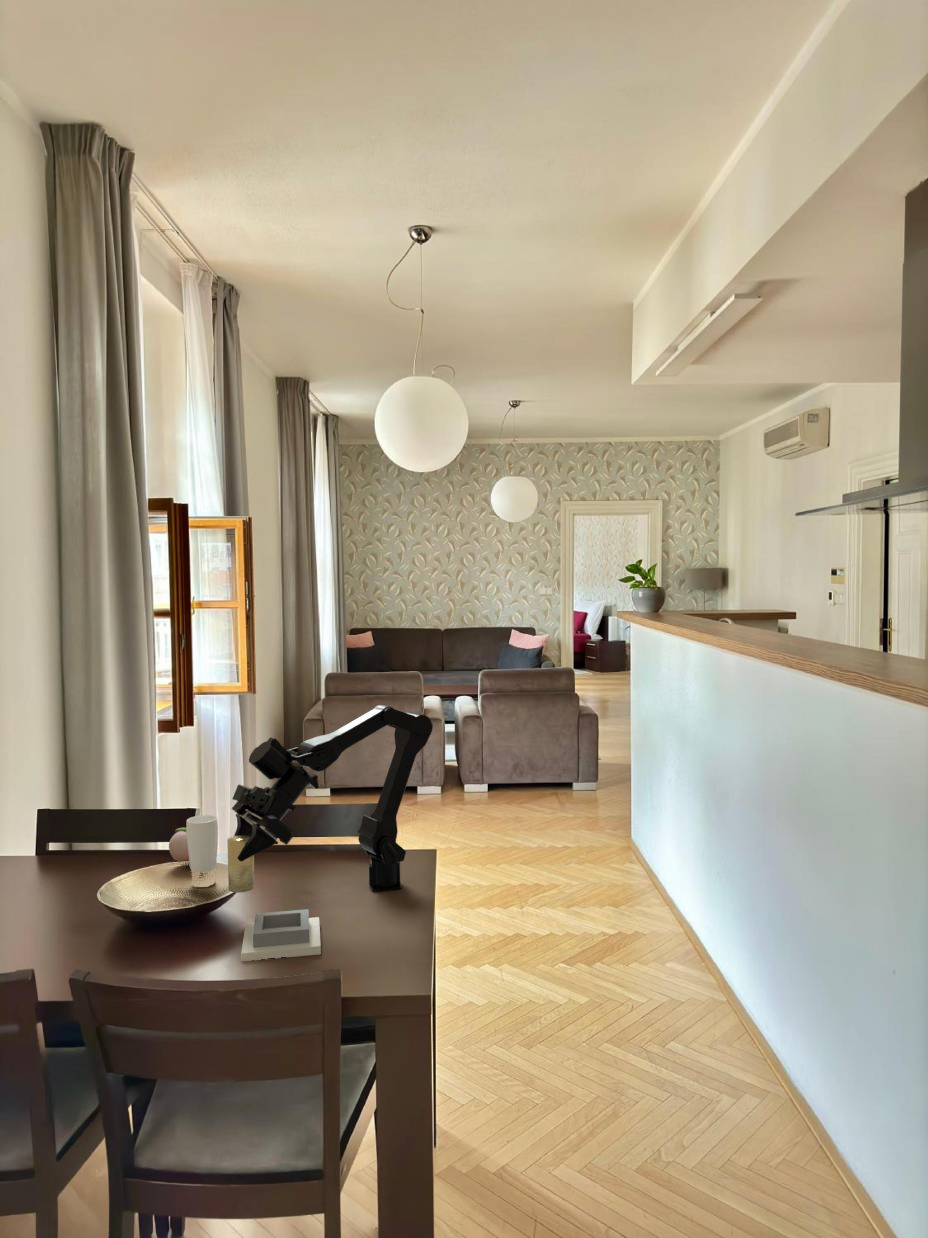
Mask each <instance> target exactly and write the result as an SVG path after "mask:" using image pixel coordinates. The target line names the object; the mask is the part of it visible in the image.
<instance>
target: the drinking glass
mask: <svg viewBox="0 0 928 1238" xmlns="http://www.w3.org/2000/svg"><path fill="white" fill-rule="evenodd" d="M185 828H186V834H187V846H188V854H189V862H190V866H189V869H191V870H193V871H195V872H204V871H211V870H213V869H214V868H215V866H216V867H217V857H218V845H219V842H218V841H219V823H218V817H217V816H215V815H211V814H204V815H203V814H202V815H195V816H191V817H189V818H187V819H186V827H185Z"/></svg>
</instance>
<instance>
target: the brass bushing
mask: <svg viewBox="0 0 928 1238" xmlns="http://www.w3.org/2000/svg"><path fill="white" fill-rule="evenodd" d="M250 837H251V836H250V835H237V836H234V835H233V836H230V837H228V838H227V841H226V842H227V851H228V852H227V872H228V873H227V875H228V877H227V878H228V891H229V892H231V893H236V894H237V893H238V894H239V893H246V892H249V891H252V890H253V889H255V858H254V857H255V855H253V856H251V857H249V858H247V859H245V860H244V861H242V862H241V861H239V860H238V859H237V858H238V856H239V854H240V852H241V851H242V849H243V847H244V846H245V844H246V843H247V841H248V840H249V838H250Z"/></svg>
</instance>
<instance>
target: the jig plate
mask: <svg viewBox="0 0 928 1238" xmlns="http://www.w3.org/2000/svg"><path fill="white" fill-rule="evenodd" d="M309 913H310V911H309V908H308V909H307V908H306V909H296V910H284V911H281V910H280V911H269V912H262V913H261V912H260V913H259V912H258V913H255V916H254V922H248V923H245V926H244V927H245V928H244V933H243V939H242V945H241V953H240V955H241V956H240V957H241V959H240V961H241V962H251V961H252V960H254V961H261V959H265V960H269V959H268V958H275V959H282V958H281V957H286V958H296V957H307V956H315V955H318V956H319V955H321V954H322V953H321V952H322V948H321V947H322V946H321V945H322V944H321V929H320V926H321V925H320V917H319V916H316V917H309ZM252 962H253V961H252Z"/></svg>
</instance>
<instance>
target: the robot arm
mask: <svg viewBox="0 0 928 1238" xmlns="http://www.w3.org/2000/svg"><path fill="white" fill-rule="evenodd" d="M386 726H387V727H391V728H393V729H394V735H393V736H394V745H395V750H394V753H393V756H392V759H391V762H390V765H389V768H388V771H387V774H386V777H385V780H384V783H383V785H382V789H381V792H380V795H379V798H378V801H377V803H376V807H375V809H374V811H373V812H372V813H371V814H370V816H368V815H363V816H362V819H361V824H360V827H359V829H358V830H357V834H358V838H357V839H358V843H359V845H360V847H361V848H362V849H363V850H364V852H365V854H366V856H368V857H370V863H368V865H367V872H368V873H367V875H368V876H367V878H368V879H367V880H368V881H367V882H368V886H369V887H371V891H372V892H376V891H377V892H378V891H379V892H380V891H390V890H393V891H394V890H401V889H402V888H403V887H402V883H401V862H403V861H404V860H405V857H406V854H407V851H406V849H404V848H403V847H402V846H401V845H399V844H398V842H397V839H398V838H397V837H398V824H397V823H398V822H397V815H398V812H399V809H400V806H401V803H402V801H403V797H404V794H405V791H406V788H407V786H408V781H409V779H410V776H411V772H412V769H413V766H414V763H415V760H416V757H417V755H418V754H419V753H420V751H421V750H423V748H424V747H425V746H426V745H427V742H428V740H429V739H430V737H431V735H432V733H433V729H434V726H433V723H432V720H431V718H430V717H429V716H428V715H426V714H422V713H421V714H420V713H417V712H412V711H405V712H404V711H401V710H399V709H395V708H394V707H392V706H389V705H384V704H378V705H376V706H374V708H373V709H371V710H370V711H368V712H366V713H365V714H363V715H361V716H359V717H357V718H356V719H354V720H352V721H351V722H349V723H347V724H345V725H343V726H342V727H340V728H338V729H336V730H334V731H333V732H330V733H327V734H323V735H322V734H321V735H318V736H314V737H313V738H309V739H307V740H304V741H302V742H301V743H300V744H299V745H298V746H297V747H293V748H290V749H286V748H285V747H284V746H283V745H282V744H281V742H280V741H279V740H277V739H276V738H275V737H272V736H271V737H269V738H268V739H267V741H264V742H262V743H260V744H259V745H258V746H256V747H255V748H254V749H253V750H252V751H251V753H250V755H249V758H248V762H249V764H251V765H252V766H253V767H254V768H255V769H256V770H258V771H259V772H260V773H261V774H262V775H263V776H264V777H266V778H267V779H268V780H270V781H271V780H274V779H276V781H275V782H274V784H273V785H272V786H271V787H270V786H266V787H264V788H263V787H259V786H257V785H255V786H253V787H252V788H251V787H249V786H246V785H242V784H237V787H236V789H235V791H234V794H233V796H232V800H233V801H236V803H235V804H234V805H233V806H232V807H231V810H232V811H234V812H235V813H236V814H235V817H236V821H237V827H236V830H235V832H234V835H233V836H237V835H250V836H251V837H250V838H249V840H248V841H247V843H246V844H245V846H244V847H243V849H242V851H241V852H240V854H239V856H238V858H237V859H238V860H239V861H241V862H242V861H244V860H245V859H247V858H249V857H251V856H253V855H254V856H255V855H256V854H258V853H260V852H263V851H264V850H267V849H268V848H270V847H272V846H274V845H278V844H279V842H280V843H282V844H284V845H286V846H287V845H288V844H289V843H290V841H291V840H292V839H293V837H294V836H293V835H294V833H293V832H294V831H293V829H291V828H290V827H288V826H287V825H286V824H284V822H283V821H282V819H283V818H285V816H286V815H287V813H288V812H289V811H291V812H294V811H295V809H296V808H297V807H296V806H295V805H294V804H295V803H296V801H297V800H298V799H299V797H301V795H302V794H303V792H304V791H305V790H306V789H307V787H308V786H309V787H311V788H313V789H315V790H318V789H319V788H320V786H319V780H318V778H319V776H318V775H317V774H314V773H311V774H310V773H309V772H308V771H307V770H305V768H307V769H310V770H312V771H315V772H323V771H325V770H327V769H328V768H329V767H330V766H332V765H333V764H334V763H335V762H336V761H338V760H339V758H340V756H341V755H342V753H344V752H345V751H346V750H347V749H349V748H351V747H353V746H354V745H355V744H358V743H359V742H361V741H362V740H364V739H366V738H367V737H369V736H371V735H373V734H374V733H376V732H377V731H379V730H381V729H383V728H385V727H386ZM293 763H295V764H297V765H299V767H296V766H295V765H293ZM278 839H279V841H278ZM227 853H228V850H227Z"/></svg>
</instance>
